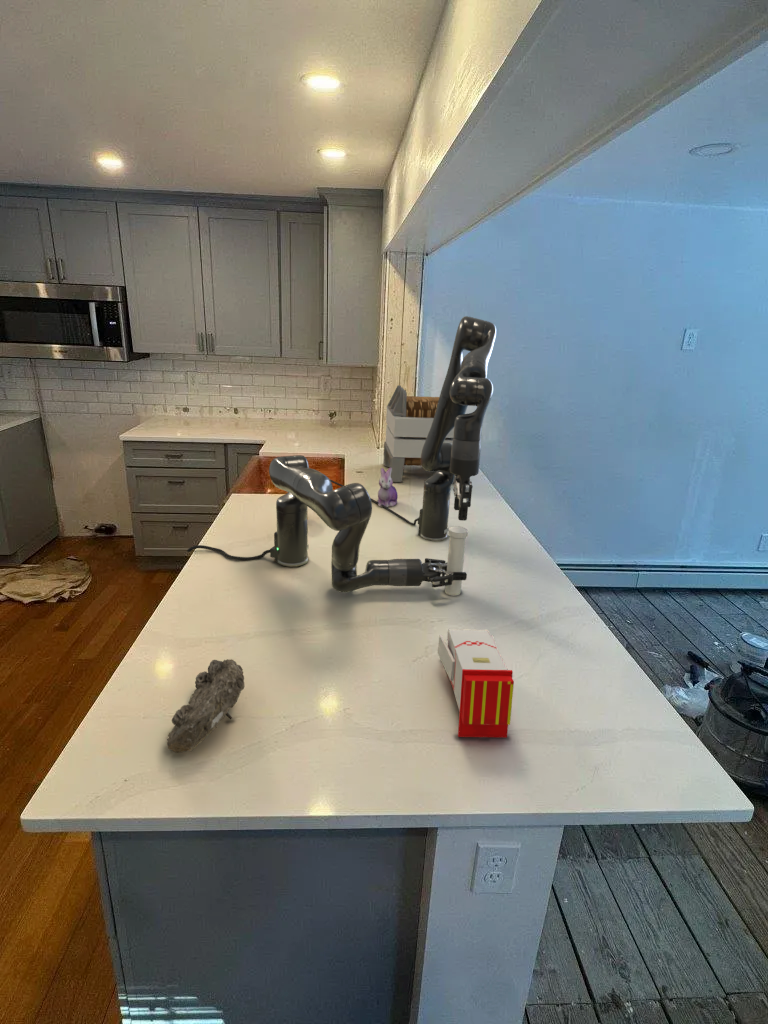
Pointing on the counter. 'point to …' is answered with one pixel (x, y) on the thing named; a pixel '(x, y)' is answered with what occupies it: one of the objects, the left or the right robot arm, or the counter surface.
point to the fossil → (206, 705)
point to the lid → (458, 532)
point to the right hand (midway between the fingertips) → (460, 514)
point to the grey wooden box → (408, 430)
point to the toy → (478, 682)
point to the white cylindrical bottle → (455, 563)
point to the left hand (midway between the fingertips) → (463, 572)
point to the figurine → (386, 489)
